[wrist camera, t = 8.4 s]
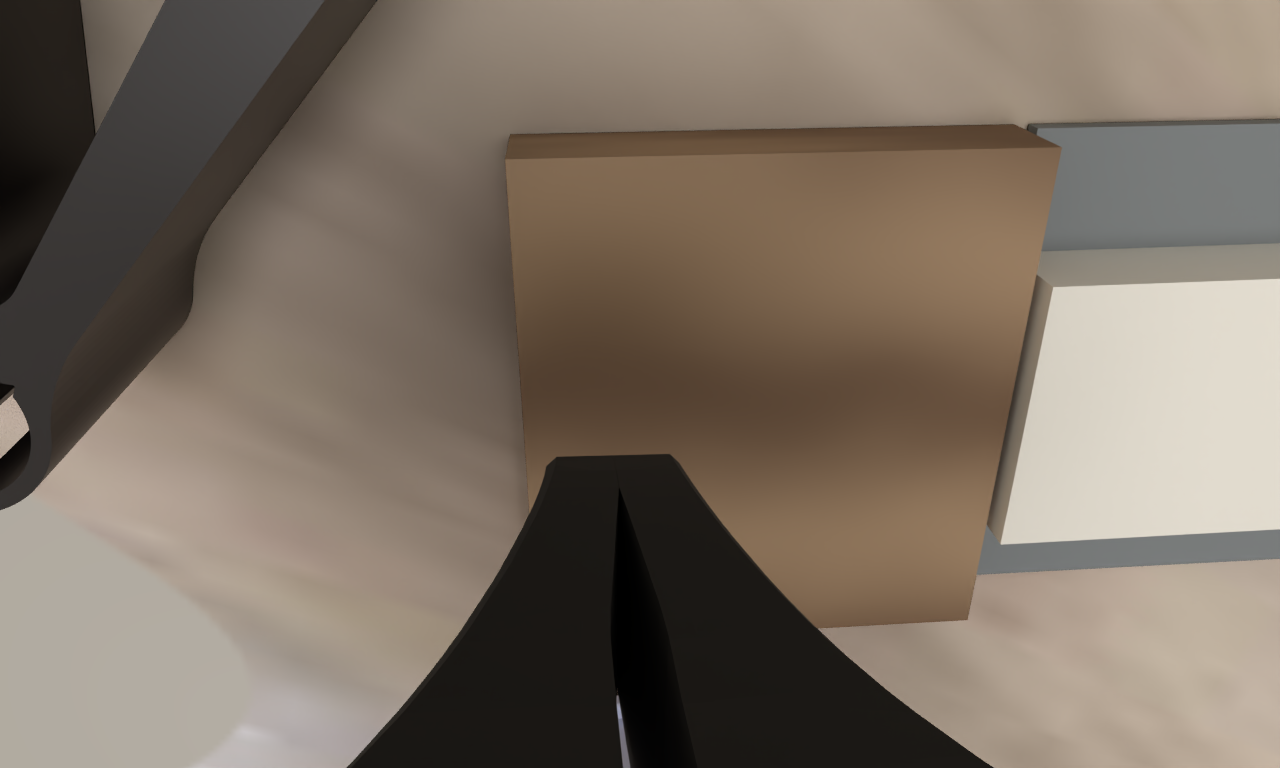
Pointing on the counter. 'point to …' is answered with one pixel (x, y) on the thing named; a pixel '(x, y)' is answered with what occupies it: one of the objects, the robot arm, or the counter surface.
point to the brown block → (790, 336)
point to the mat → (1147, 218)
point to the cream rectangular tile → (1145, 397)
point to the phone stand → (127, 190)
